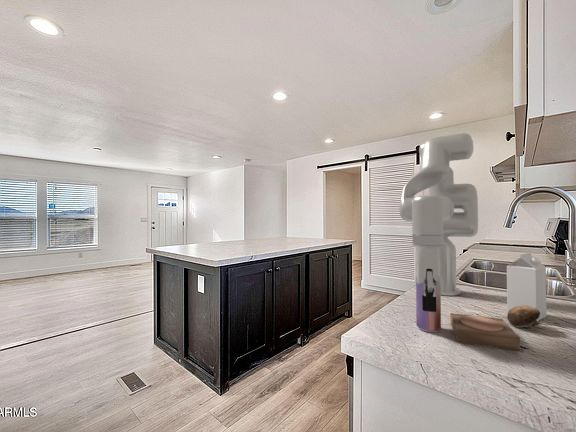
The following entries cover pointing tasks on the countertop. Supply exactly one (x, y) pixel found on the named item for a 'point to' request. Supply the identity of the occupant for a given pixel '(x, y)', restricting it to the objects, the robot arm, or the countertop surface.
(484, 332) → the walnut base
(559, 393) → the countertop surface
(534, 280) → the milk carton
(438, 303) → the beverage can
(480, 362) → the countertop surface
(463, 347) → the countertop surface
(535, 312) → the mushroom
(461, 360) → the countertop surface
